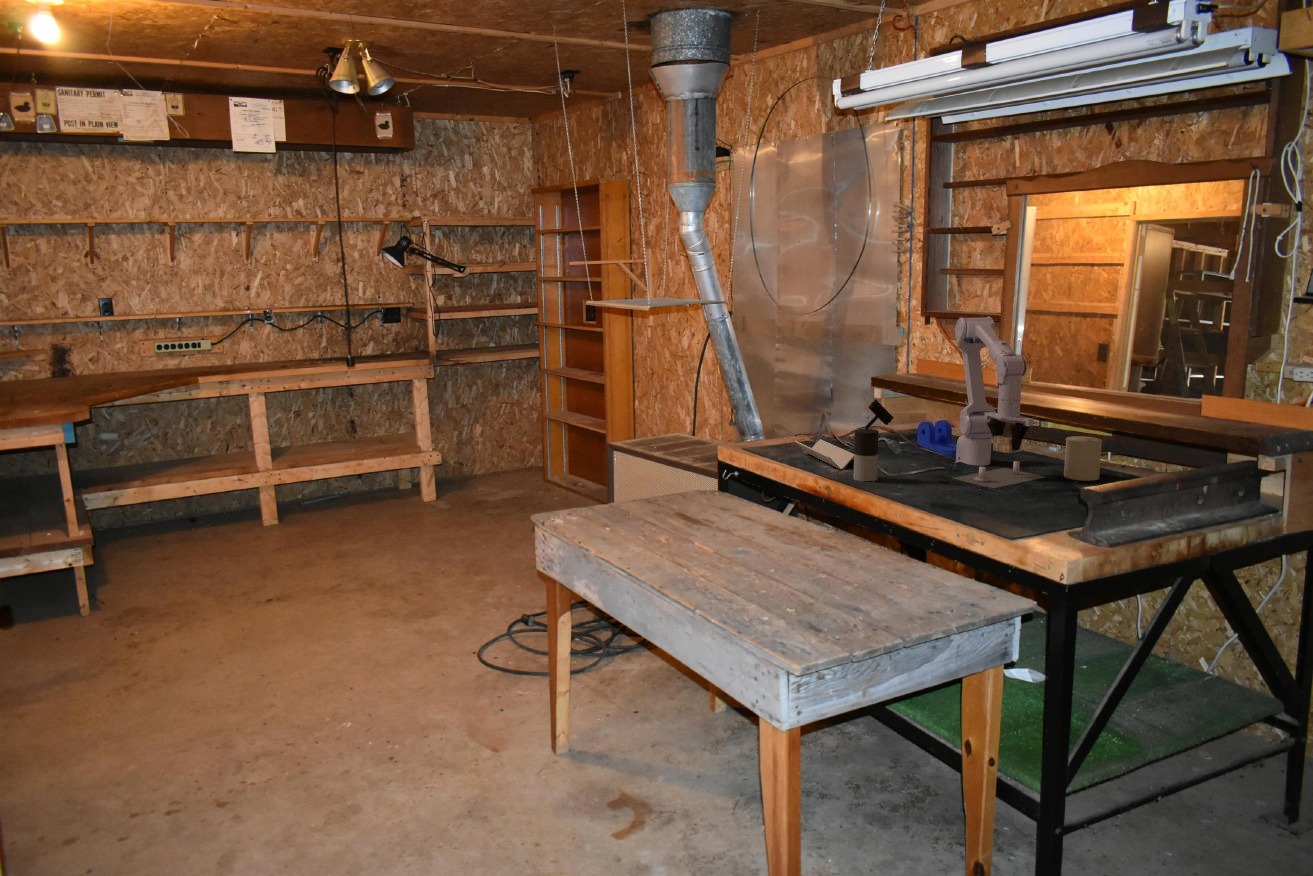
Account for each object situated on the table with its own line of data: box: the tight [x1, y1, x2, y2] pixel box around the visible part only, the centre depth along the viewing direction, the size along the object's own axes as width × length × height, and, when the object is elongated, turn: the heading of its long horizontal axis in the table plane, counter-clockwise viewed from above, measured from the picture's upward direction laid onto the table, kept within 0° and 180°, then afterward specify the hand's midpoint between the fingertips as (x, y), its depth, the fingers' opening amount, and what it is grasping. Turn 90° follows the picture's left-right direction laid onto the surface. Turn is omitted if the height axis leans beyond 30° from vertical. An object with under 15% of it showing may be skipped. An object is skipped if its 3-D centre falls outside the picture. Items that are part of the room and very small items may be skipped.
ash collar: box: [992, 433, 1023, 454], centre depth 255 cm, size 5×5×4 cm
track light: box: [853, 399, 894, 482], centre depth 259 cm, size 6×17×20 cm
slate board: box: [951, 460, 1046, 493], centre depth 255 cm, size 14×22×5 cm, turn 121°
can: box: [1063, 435, 1103, 482], centre depth 254 cm, size 9×9×12 cm
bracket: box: [916, 419, 957, 457], centre depth 295 cm, size 18×8×9 cm, turn 17°
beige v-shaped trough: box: [794, 438, 854, 470], centre depth 284 cm, size 12×25×6 cm
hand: (1006, 448), depth 255 cm, fingers closed on ash collar, 5 cm apart
